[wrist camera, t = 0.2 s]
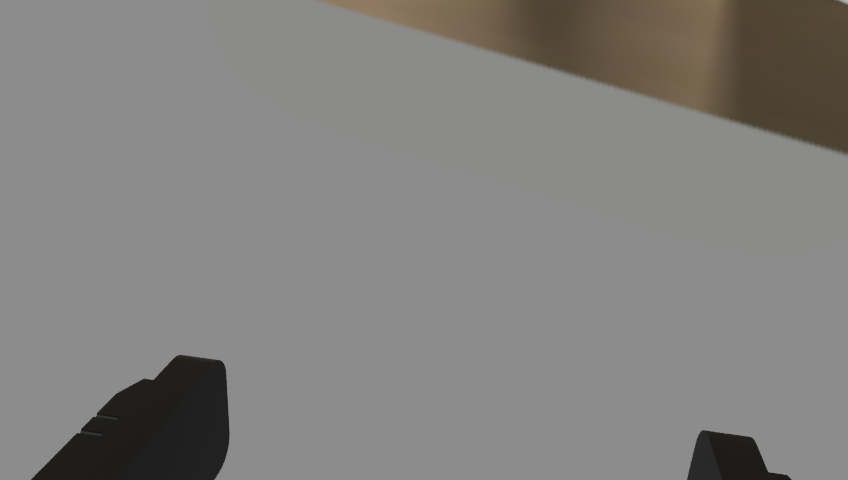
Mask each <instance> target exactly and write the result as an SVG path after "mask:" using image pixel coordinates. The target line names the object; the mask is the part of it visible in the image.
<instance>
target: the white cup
mask: <svg viewBox="0 0 848 480" xmlns="http://www.w3.org/2000/svg"><path fill="white" fill-rule="evenodd" d="M832 1H836V2H839V3H842V4H846V5H848V0H832Z"/></svg>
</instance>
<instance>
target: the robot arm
mask: <svg viewBox="0 0 848 480" xmlns="http://www.w3.org/2000/svg"><path fill="white" fill-rule="evenodd" d="M228 445H229V416H228V399H227V380H226V369H225V366H224V363H223V362H222V361H220V360H213V359H206V358H198V357H192V356H185V355H178V356H176V357H175V358H174V359H173V360H172V361H171V362H170V363H169V364H168V365H167V366H166V367H165V368H164V370H163V371H162V372H161V373H160V374H159V375H158V376H157V377H156V378H155V379H154V380H149V379H143V380H141V381H139V382H137V383H135V384H133V385H132V386H130V387H128V388H126V389H124V390H122V391H121V392H119V393H117V394H116V395H115V396H114V397H113V398H112V399H111V400H110V401H109V402H108V403H107V404H106V405H105V406H104V407H103V408H102V409H101V410H100V411H99V412H98V413H97V416H96V417H93V418H92V419H91V420H90V421H89V422H88V423H87V424H86V425H85V426H84V427H83V428H82V429H81V433H80V434H79V433H77V434H76V435H75V436H74V437H73V438H72V439H71V440H70V441H69V442H68V443H67V444H66V445H65V446H64V447H63V448H62V449H61V450H60V451H59V452H58V453H57V454H56V455H55V456H54V457H53V458H52V459H51V460H50V461H49V462H48V463H47V464H46V465H45V466H44V467H43V468H42V469H41V470H40V471H39V472H38V473H37V474H36V475H35V476H34V477H33V478H32V479H31V480H214V479H215V478H216V476H217V474H218V473H219V471H220V470H221V468H222V465H223V463H224V461H225V458H226V454H227V450H228ZM687 480H791V479H790V478H789V477H788V476H787V475H783V474H776V473H769V472H768V471H767V468H766V466H765V464H764V461H763V459H762V456H761V454H760V452H759V449H758V447H757V445H756V443H755V441H754V439H753V438H751V437H746V436H739V435H732V434H725V433H717V432H711V431H704V430H703V431H701V432H700V434H699V436H698V438H697V441H696V445H695V449H694V453H693V457H692V461H691V466H690V470H689V474H688V478H687Z"/></svg>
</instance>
